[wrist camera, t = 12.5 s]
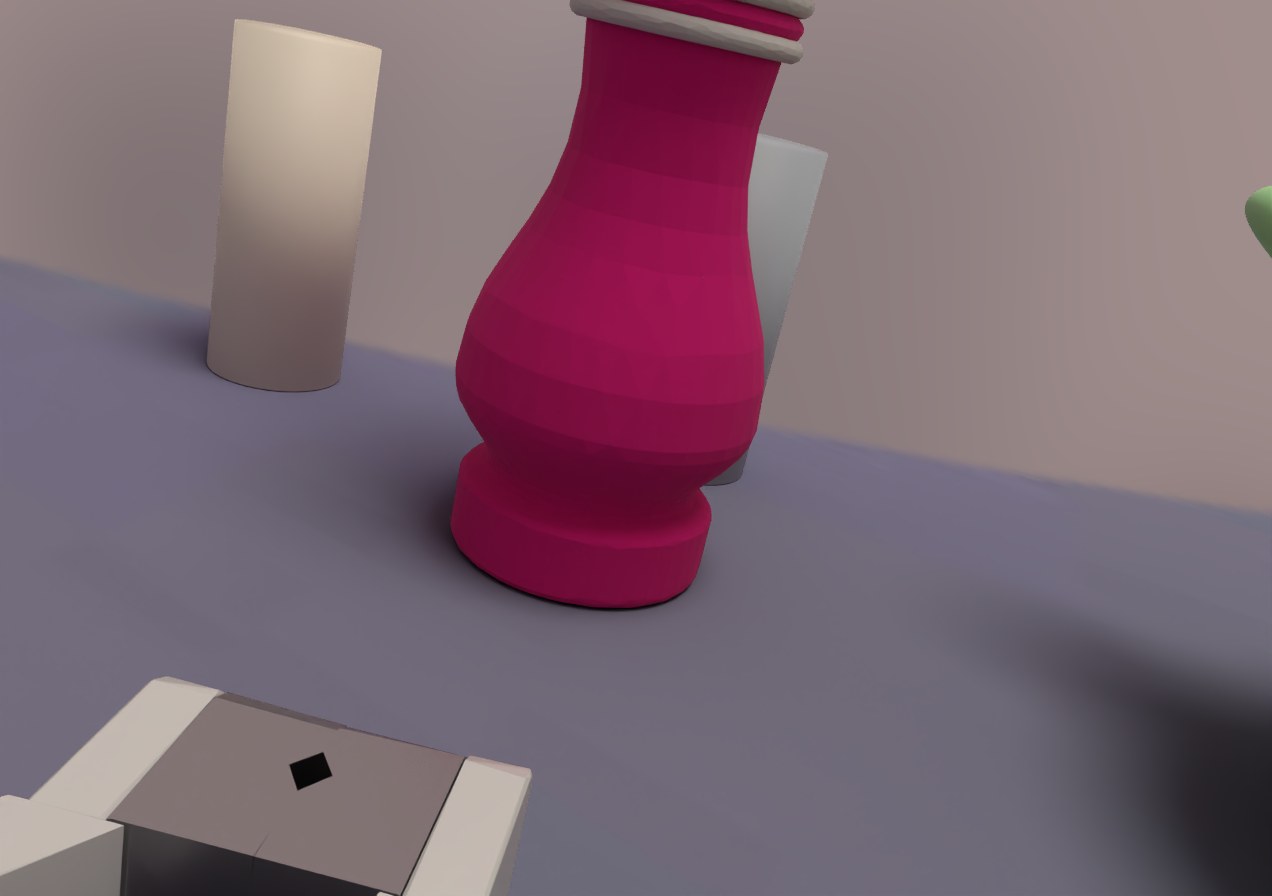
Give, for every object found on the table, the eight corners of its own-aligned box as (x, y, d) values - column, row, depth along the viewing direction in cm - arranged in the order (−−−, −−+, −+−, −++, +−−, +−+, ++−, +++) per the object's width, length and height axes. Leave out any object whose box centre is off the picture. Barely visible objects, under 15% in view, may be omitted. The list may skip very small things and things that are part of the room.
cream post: (181, 369, 33) (207, 16, 30) (242, 337, 37) (272, 21, 33) (310, 401, 33) (351, 50, 29) (359, 366, 37) (400, 51, 33)
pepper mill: (431, 468, 30) (571, -398, 23) (684, 502, 32) (886, -299, 25) (426, 604, 24) (618, -545, 17) (746, 638, 25) (1043, -399, 18)
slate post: (610, 463, 33) (685, 125, 30) (627, 422, 37) (696, 118, 34) (739, 496, 33) (830, 160, 30) (744, 451, 37) (825, 148, 34)
